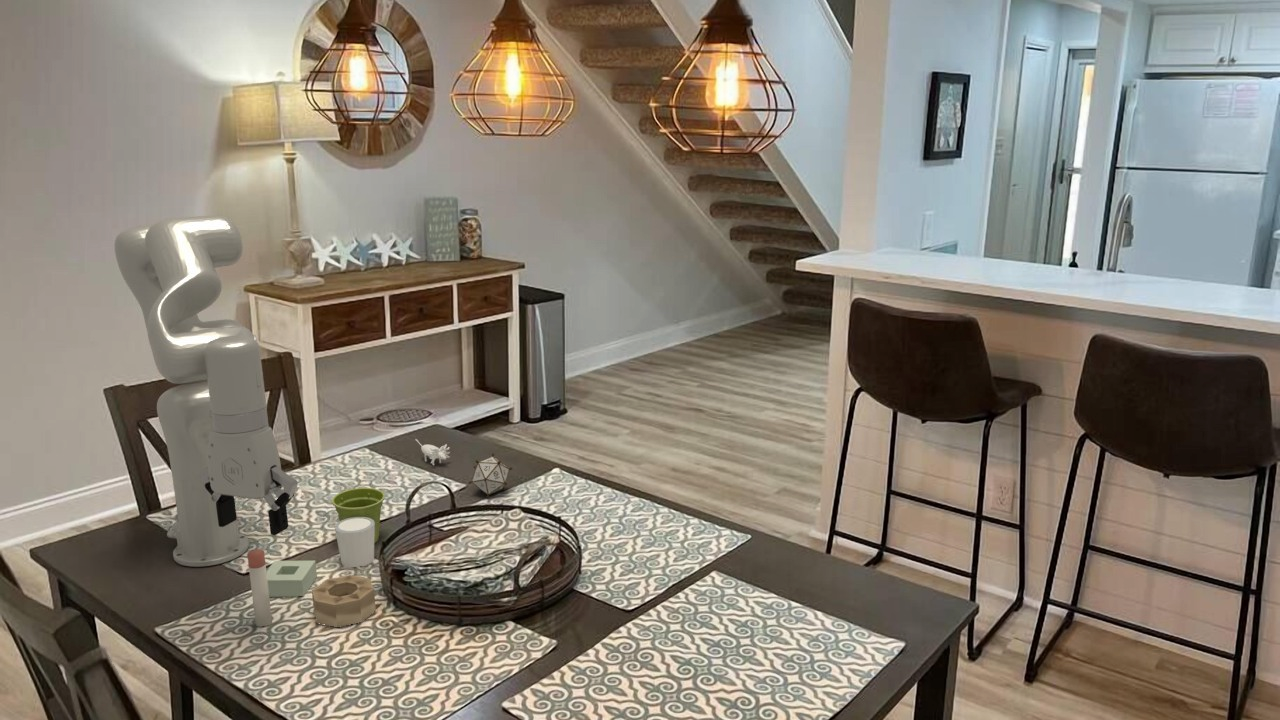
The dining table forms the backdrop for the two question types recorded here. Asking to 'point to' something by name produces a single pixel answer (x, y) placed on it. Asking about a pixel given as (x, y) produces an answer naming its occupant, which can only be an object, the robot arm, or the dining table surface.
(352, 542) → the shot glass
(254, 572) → the red-capped white cylinder
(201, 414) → the robot arm
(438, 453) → the white triceratops figurine
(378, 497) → the plant pot
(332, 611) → the bead
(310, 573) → the green square-hole block
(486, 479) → the game die
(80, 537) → the dining table surface
